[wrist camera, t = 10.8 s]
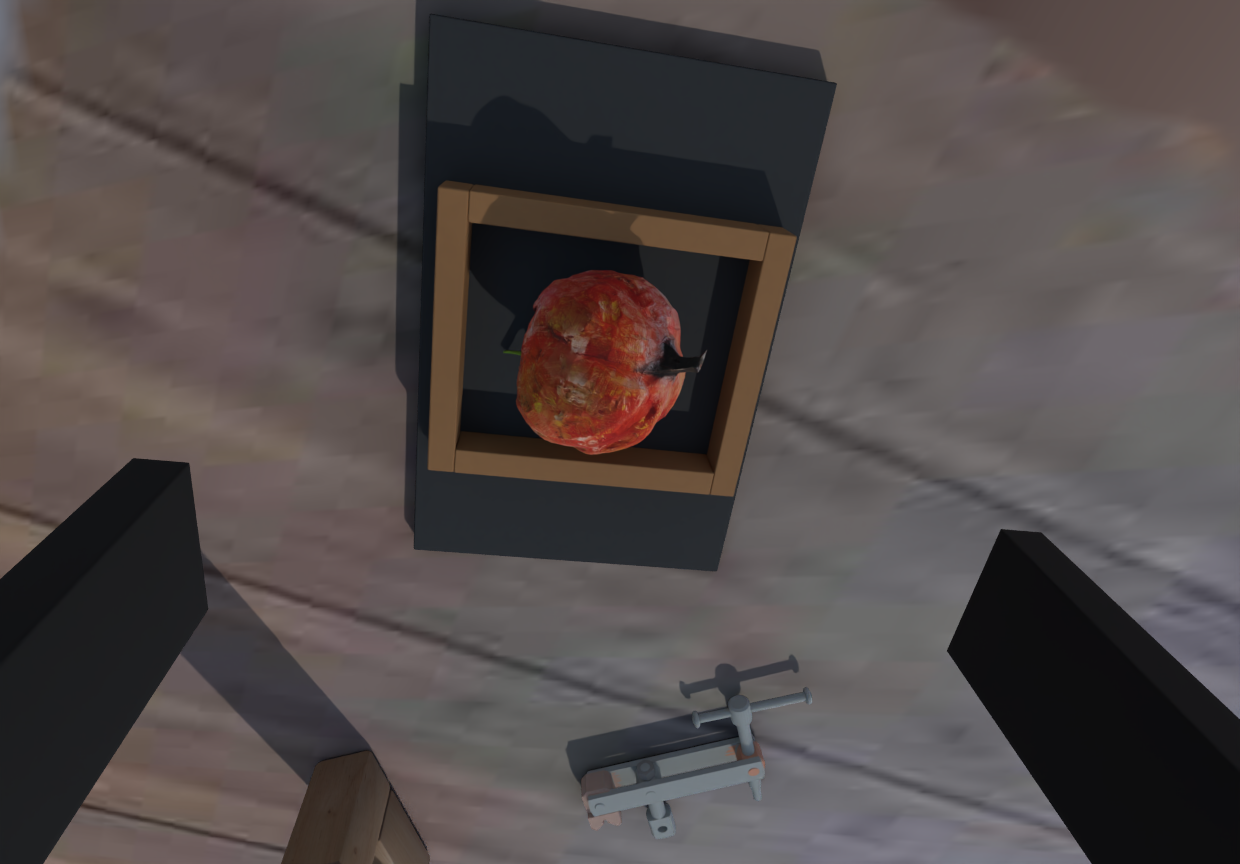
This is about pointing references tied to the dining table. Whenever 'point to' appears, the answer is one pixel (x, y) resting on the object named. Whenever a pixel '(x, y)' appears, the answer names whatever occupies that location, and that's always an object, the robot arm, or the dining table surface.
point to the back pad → (598, 240)
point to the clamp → (682, 770)
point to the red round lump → (600, 361)
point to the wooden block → (352, 818)
